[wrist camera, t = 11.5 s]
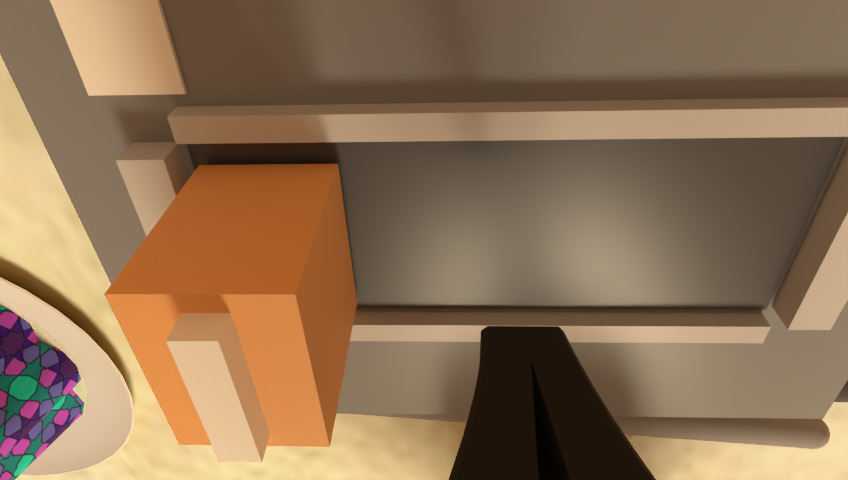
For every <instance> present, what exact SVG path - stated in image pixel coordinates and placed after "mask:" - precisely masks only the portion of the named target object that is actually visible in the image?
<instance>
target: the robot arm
mask: <svg viewBox="0 0 848 480" xmlns="http://www.w3.org/2000/svg"><path fill="white" fill-rule="evenodd" d="M449 480H656V479H655V478H654V476H653V475H652V474H651V472H650V471H649V469H648V468H647V467H646V465H645V464H644V463H643V461H642V460H641V458H640V457H639V455H638V454H637V453H636V451H635V450H634V448H633V447H632V445H631V444H630V442H629V441H628V439H627V438H626V436H625V435H624V433H623V432H622V430H621V429H620V427H619V426H618V424H617V423H616V421H615V420H614V418H613V417H612V415H611V414H610V412H609V411H608V409H607V407H606V406H605V404H604V403H603V401H602V399H601V398H600V396H599V394H598V393H597V391H596V389H595V388H594V386H593V384H592V383H591V381H590V379H589V378H588V376H587V374H586V373H585V371H584V369H583V367H582V365H581V364H580V362H579V360H578V358H577V356H576V354H575V353H574V351H573V349H572V347H571V345H570V343H569V341H568V339H567V337H566V335H565V333H564V331H563V330H562V329H561V328H560V327H558V326H487V327H486V328H484V329H483V330H481V339H480V362H479V371H478V377H477V382H476V387H475V392H474V396H473V400H472V404H471V408H470V412H469V416H468V420H467V424H466V428H465V431H464V435H463V438H462V441H461V444H460V447H459V450H458V453H457V456H456V459H455V462H454V465H453V468H452V471H451V474H450V477H449Z"/></svg>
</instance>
